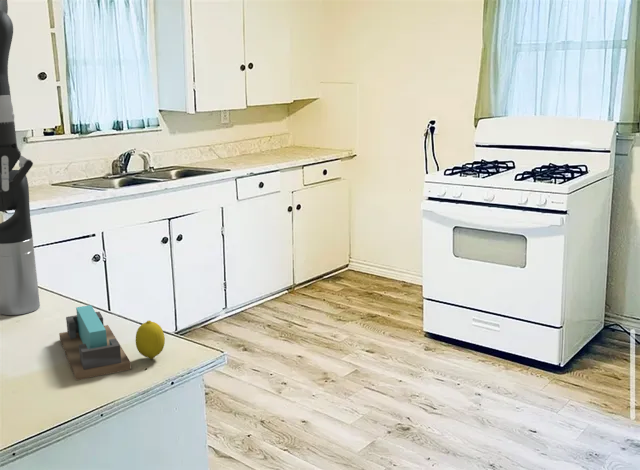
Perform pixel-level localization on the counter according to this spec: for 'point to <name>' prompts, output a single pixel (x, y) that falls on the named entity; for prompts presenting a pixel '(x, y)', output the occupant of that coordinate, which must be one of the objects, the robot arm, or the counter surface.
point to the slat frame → (92, 353)
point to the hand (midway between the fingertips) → (3, 209)
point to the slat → (90, 327)
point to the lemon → (150, 339)
